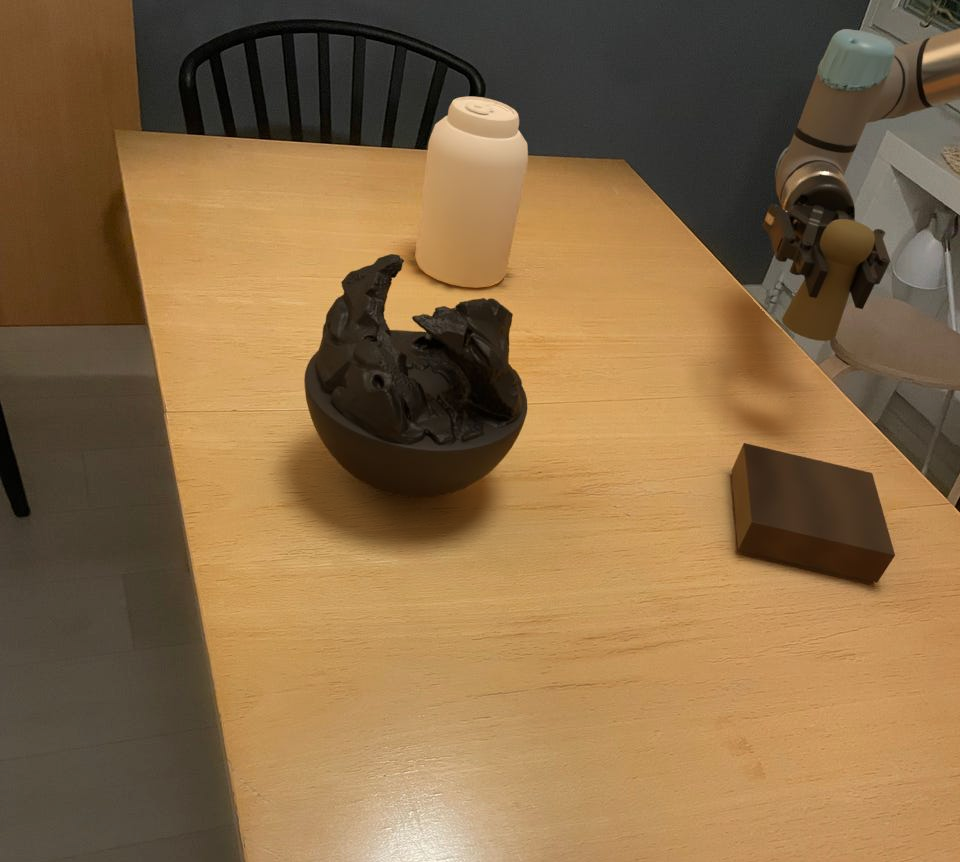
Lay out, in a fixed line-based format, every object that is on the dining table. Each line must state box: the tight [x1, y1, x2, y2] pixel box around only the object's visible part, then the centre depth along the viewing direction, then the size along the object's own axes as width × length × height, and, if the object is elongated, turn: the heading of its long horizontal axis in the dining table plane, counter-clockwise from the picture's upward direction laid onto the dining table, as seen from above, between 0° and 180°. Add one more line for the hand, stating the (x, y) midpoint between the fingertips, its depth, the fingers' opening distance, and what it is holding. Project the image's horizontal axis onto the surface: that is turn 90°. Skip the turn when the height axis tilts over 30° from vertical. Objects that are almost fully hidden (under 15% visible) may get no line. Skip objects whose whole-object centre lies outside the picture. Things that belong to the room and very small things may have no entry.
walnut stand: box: [731, 442, 896, 586], centre depth 92 cm, size 14×14×4 cm
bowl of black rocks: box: [303, 253, 528, 499], centre depth 81 cm, size 20×20×19 cm
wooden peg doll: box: [781, 219, 875, 342], centre depth 95 cm, size 6×6×11 cm
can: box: [414, 95, 529, 289], centre depth 116 cm, size 12×12×20 cm
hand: (841, 289), depth 90 cm, fingers closed on wooden peg doll, 4 cm apart
